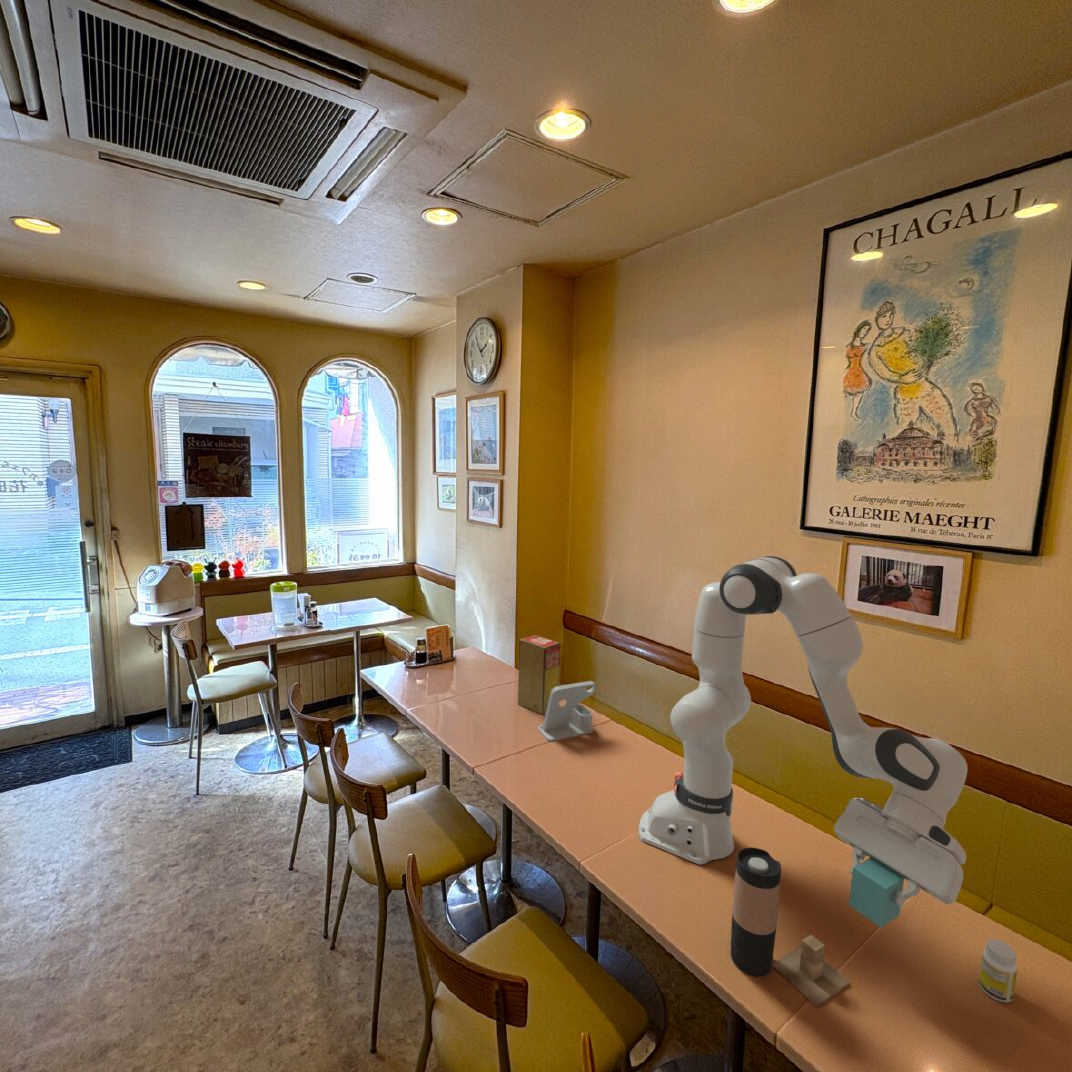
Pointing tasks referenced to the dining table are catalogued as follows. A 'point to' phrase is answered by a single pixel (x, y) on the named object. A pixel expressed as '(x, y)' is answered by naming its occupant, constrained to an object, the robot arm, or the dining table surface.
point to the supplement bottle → (998, 971)
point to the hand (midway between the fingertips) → (874, 889)
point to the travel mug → (755, 911)
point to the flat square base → (811, 972)
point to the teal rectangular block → (875, 891)
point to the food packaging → (537, 672)
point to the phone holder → (568, 712)
